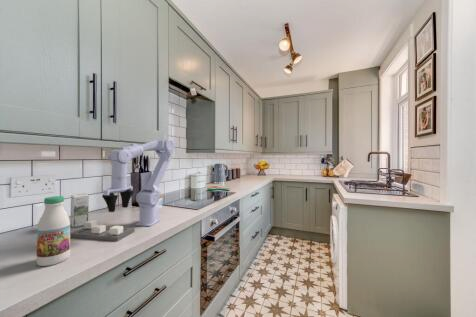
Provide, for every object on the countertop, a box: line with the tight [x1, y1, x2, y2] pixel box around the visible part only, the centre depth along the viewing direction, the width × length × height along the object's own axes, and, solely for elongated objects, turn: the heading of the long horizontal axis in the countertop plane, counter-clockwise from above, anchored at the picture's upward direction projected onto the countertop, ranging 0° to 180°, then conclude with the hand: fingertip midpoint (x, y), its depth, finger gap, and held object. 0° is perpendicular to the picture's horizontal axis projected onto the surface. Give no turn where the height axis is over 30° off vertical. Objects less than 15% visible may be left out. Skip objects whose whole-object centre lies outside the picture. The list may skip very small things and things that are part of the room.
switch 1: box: [83, 219, 98, 229], centre depth 87 cm, size 3×4×2 cm
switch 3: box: [110, 225, 124, 235], centre depth 81 cm, size 3×4×2 cm
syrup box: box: [70, 193, 90, 229], centre depth 95 cm, size 6×6×14 cm
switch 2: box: [92, 223, 107, 234], centre depth 82 cm, size 3×4×2 cm
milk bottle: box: [36, 195, 71, 267], centre depth 63 cm, size 8×8×20 cm
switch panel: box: [70, 225, 136, 242], centre depth 84 cm, size 10×22×2 cm, turn 81°
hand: (118, 209), depth 84 cm, fingers open, 7 cm apart
